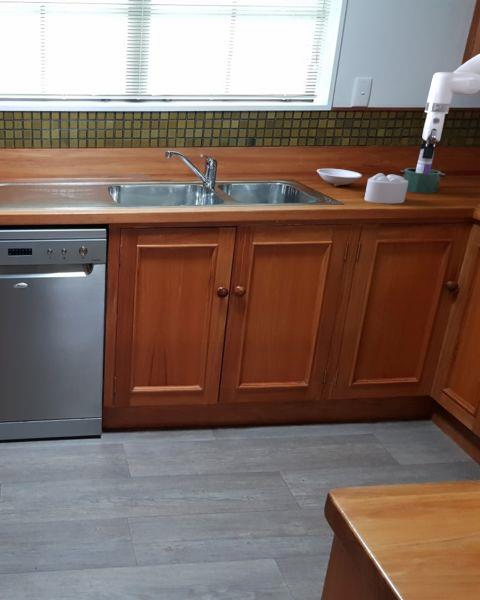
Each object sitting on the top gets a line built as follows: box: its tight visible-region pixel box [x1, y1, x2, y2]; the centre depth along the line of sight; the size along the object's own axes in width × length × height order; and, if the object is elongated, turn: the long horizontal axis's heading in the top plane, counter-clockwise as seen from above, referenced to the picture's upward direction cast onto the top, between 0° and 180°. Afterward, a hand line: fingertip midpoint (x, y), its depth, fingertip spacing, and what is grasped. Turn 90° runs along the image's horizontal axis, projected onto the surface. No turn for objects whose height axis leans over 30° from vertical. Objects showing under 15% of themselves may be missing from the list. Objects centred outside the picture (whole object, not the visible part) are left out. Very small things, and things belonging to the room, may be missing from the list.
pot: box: [399, 167, 446, 195], centre depth 229 cm, size 15×12×7 cm
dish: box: [316, 168, 363, 187], centre depth 235 cm, size 18×14×5 cm
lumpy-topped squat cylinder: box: [363, 172, 408, 204], centre depth 213 cm, size 10×13×9 cm
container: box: [415, 149, 435, 174], centre depth 227 cm, size 5×5×15 cm
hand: (425, 156), depth 226 cm, fingers open, 9 cm apart
